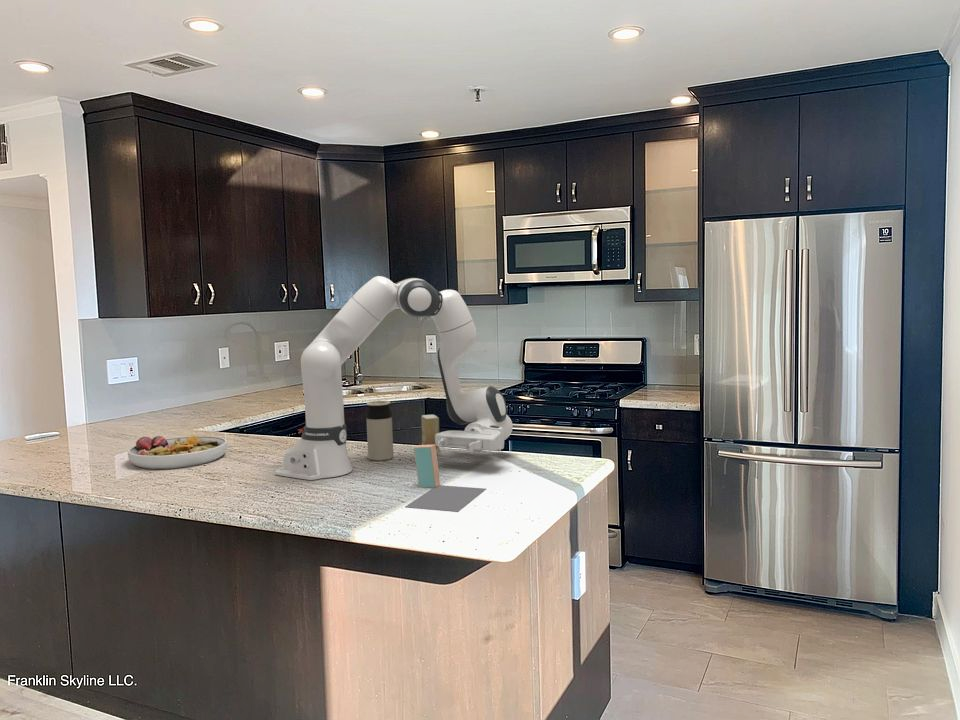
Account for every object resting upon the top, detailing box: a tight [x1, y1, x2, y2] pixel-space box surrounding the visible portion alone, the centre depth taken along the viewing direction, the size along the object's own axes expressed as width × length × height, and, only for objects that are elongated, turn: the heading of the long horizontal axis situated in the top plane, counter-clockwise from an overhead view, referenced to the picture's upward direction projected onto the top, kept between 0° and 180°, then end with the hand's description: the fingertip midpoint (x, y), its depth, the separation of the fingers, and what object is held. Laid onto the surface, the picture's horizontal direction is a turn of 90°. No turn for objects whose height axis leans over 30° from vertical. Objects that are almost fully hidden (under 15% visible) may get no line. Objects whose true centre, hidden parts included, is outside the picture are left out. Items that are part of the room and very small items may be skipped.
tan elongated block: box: [413, 444, 441, 489], centre depth 191 cm, size 5×3×11 cm, turn 70°
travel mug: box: [365, 400, 394, 462], centre depth 225 cm, size 8×8×18 cm
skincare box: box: [421, 414, 441, 455], centre depth 230 cm, size 6×4×12 cm
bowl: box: [127, 434, 228, 470], centre depth 232 cm, size 30×30×8 cm
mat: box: [404, 484, 487, 513], centre depth 179 cm, size 14×20×1 cm
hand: (453, 446), depth 200 cm, fingers open, 8 cm apart
